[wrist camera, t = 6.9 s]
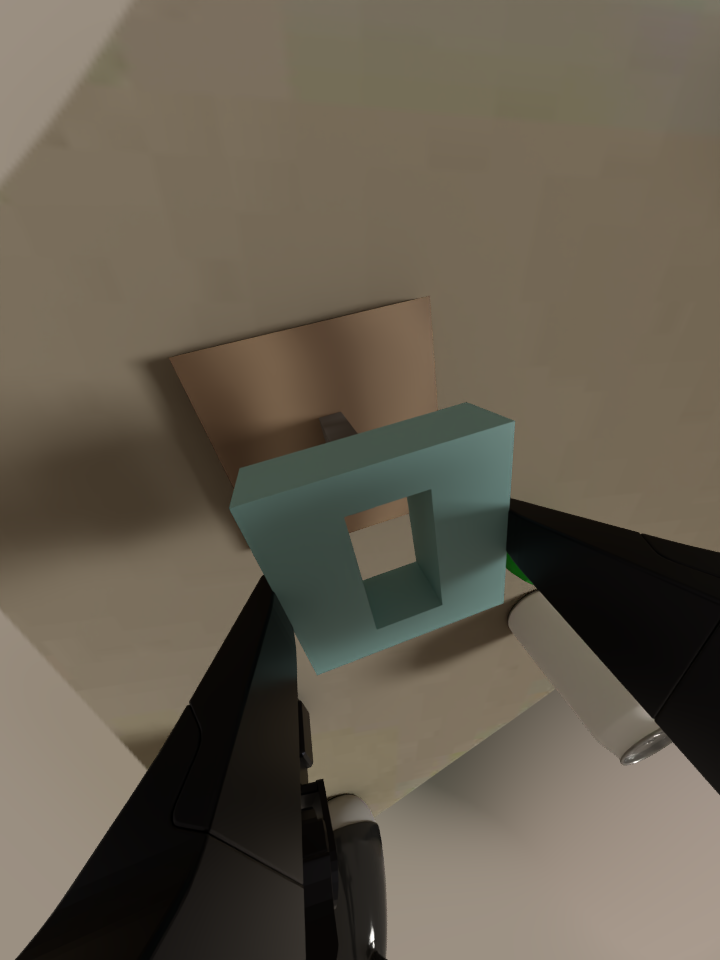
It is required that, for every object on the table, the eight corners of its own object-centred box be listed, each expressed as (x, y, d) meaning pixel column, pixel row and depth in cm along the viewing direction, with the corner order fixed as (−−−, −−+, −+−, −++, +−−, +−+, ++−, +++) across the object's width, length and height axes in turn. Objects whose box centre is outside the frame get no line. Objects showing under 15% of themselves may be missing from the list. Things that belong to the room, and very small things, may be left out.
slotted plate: (310, 620, 11) (317, 675, 9) (239, 468, 8) (228, 508, 6) (470, 563, 12) (503, 603, 10) (466, 402, 8) (515, 421, 7)
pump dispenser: (385, 782, 44) (432, 978, 30) (347, 817, 46) (375, 1011, 33) (327, 785, 39) (353, 1016, 26) (288, 824, 42) (294, 1051, 29)
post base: (269, 544, 20) (267, 613, 15) (178, 354, 14) (127, 369, 9) (433, 490, 21) (479, 538, 16) (416, 298, 15) (480, 285, 10)
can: (497, 633, 32) (601, 777, 22) (518, 589, 29) (649, 731, 19) (543, 625, 34) (660, 755, 24) (567, 583, 31) (711, 710, 21)
